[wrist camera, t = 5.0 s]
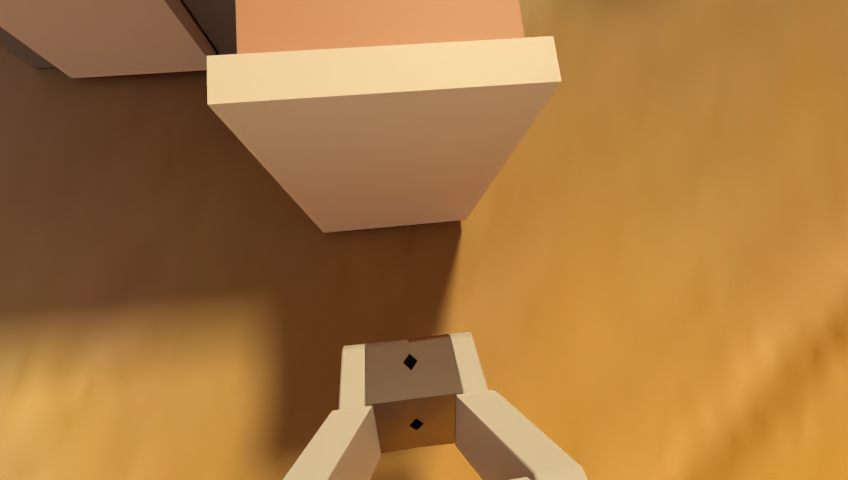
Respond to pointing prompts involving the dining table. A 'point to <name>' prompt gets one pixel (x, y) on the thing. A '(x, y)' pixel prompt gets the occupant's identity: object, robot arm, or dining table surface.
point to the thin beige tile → (109, 35)
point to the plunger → (382, 102)
